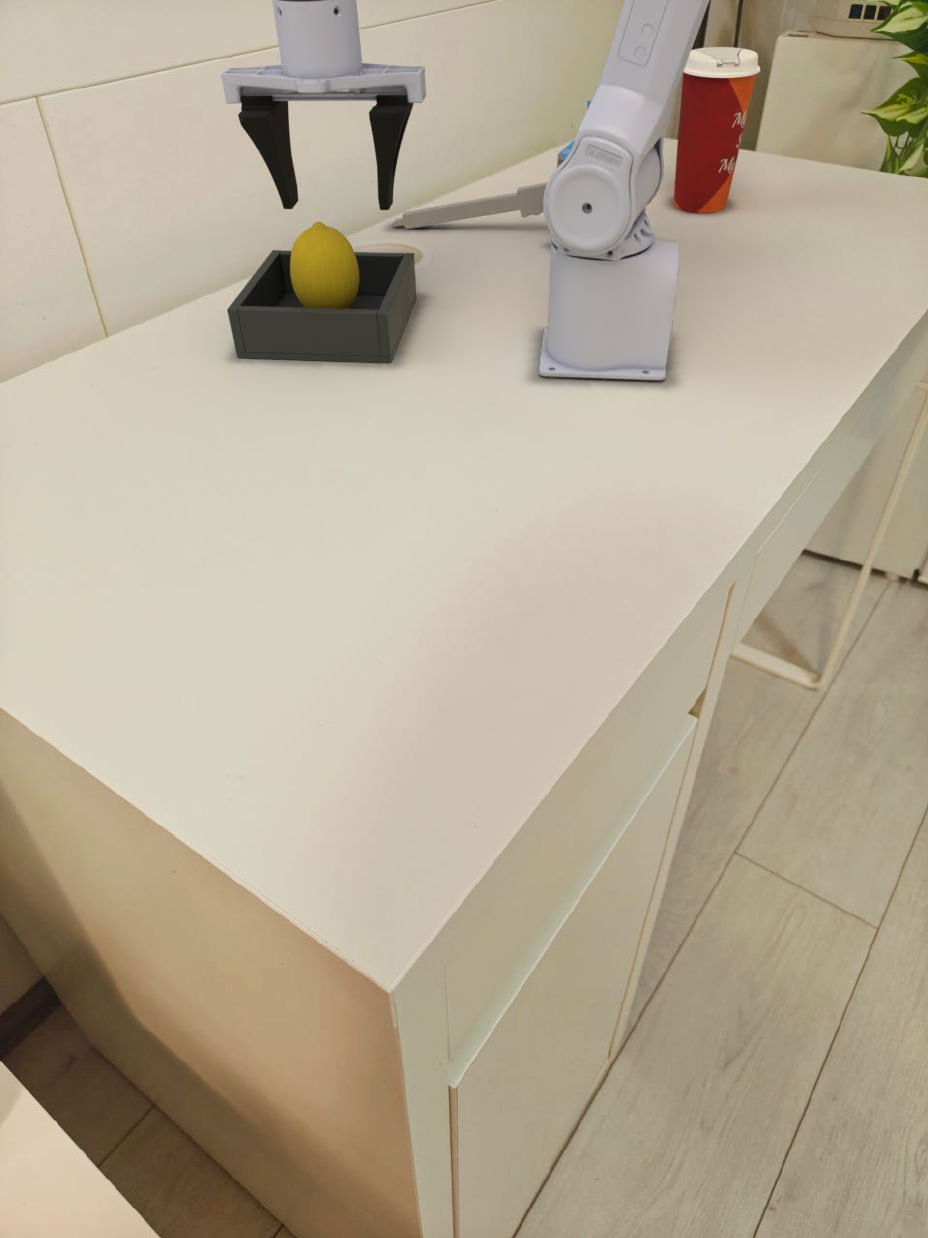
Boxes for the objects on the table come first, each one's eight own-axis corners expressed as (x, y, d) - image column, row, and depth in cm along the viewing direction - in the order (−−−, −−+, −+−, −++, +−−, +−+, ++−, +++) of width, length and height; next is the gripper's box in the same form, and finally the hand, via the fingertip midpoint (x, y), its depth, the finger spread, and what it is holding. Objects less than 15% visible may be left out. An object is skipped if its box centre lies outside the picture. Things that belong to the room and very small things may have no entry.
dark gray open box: (416, 298, 78) (414, 252, 76) (391, 363, 69) (386, 313, 66) (280, 294, 80) (272, 249, 77) (237, 357, 70) (226, 309, 68)
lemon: (353, 337, 72) (341, 236, 66) (288, 333, 72) (272, 233, 67) (371, 309, 76) (362, 211, 70) (310, 305, 76) (296, 209, 71)
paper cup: (743, 215, 92) (771, 60, 82) (669, 217, 92) (689, 62, 83) (727, 192, 98) (752, 44, 88) (658, 193, 98) (675, 45, 88)
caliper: (588, 231, 90) (593, 164, 86) (587, 235, 89) (592, 167, 85) (394, 225, 92) (389, 160, 88) (391, 228, 92) (386, 163, 87)
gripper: (191, 5, 58) (233, 221, 67) (409, 2, 56) (422, 223, 65) (225, -11, 63) (260, 192, 72) (425, -14, 61) (435, 193, 70)
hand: (338, 205), depth 69 cm, fingers open, 7 cm apart
